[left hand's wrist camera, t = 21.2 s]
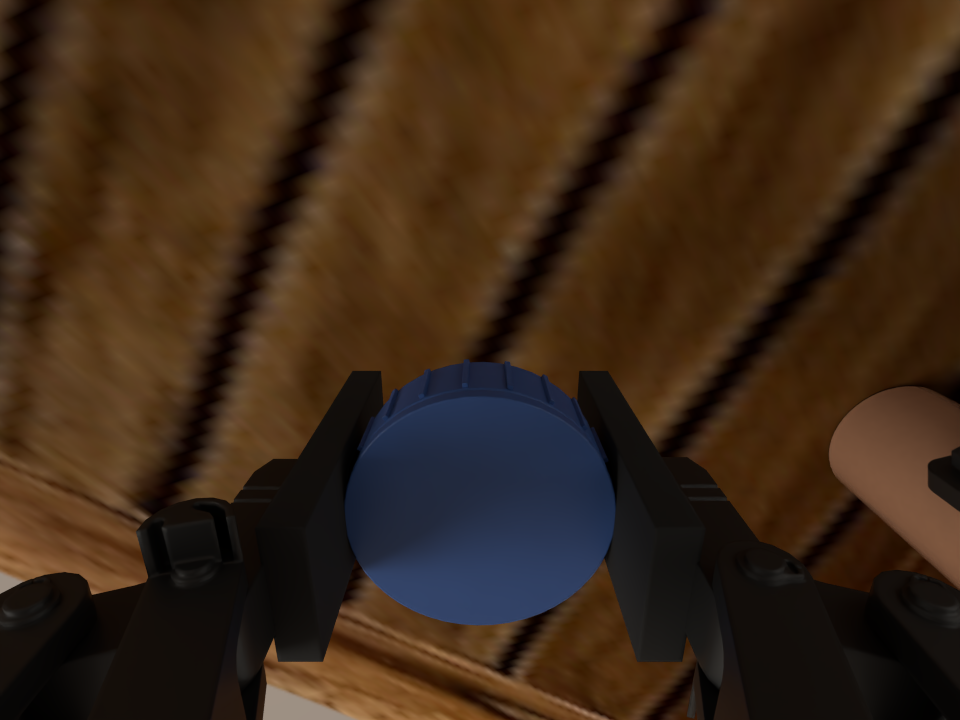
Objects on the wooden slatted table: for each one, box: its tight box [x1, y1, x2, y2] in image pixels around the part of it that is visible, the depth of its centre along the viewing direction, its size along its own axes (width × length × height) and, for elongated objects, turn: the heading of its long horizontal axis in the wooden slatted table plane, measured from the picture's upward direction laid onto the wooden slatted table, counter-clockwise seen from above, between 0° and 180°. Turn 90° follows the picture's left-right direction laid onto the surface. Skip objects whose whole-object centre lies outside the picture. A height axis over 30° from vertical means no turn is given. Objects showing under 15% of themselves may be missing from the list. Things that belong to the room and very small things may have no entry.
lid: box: [344, 359, 616, 625], centre depth 11 cm, size 6×6×2 cm
